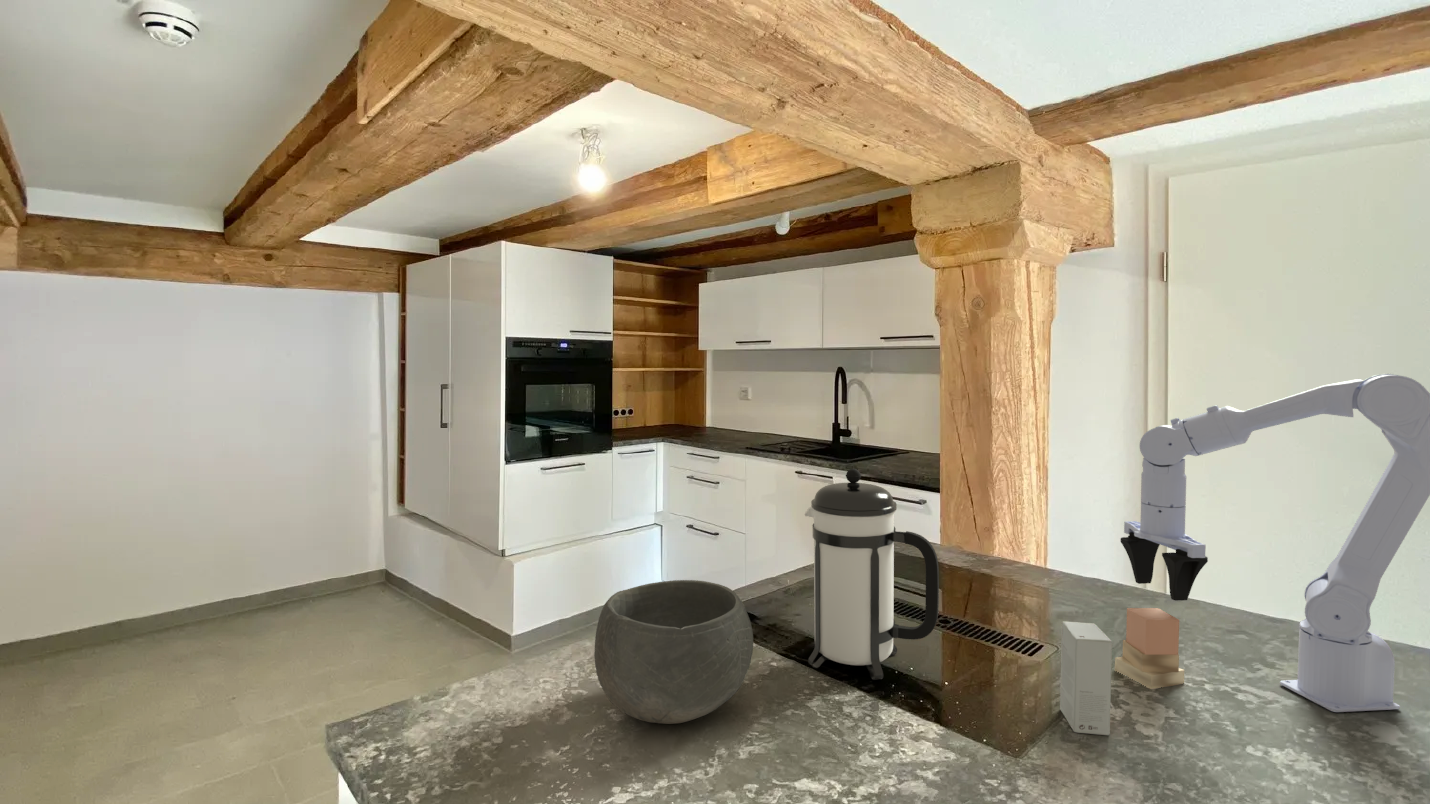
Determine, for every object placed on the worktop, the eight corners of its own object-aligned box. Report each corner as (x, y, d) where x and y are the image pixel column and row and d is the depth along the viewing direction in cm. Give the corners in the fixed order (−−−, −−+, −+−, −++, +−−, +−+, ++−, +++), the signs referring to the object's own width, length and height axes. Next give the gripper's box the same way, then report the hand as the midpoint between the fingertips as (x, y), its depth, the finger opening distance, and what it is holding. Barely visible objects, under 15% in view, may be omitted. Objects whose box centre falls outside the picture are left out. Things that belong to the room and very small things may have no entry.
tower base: (1146, 668, 101) (1147, 652, 101) (1183, 687, 95) (1184, 670, 95) (1114, 674, 100) (1115, 657, 100) (1150, 693, 94) (1151, 675, 94)
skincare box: (1111, 737, 82) (1113, 641, 81) (1073, 733, 83) (1075, 639, 82) (1093, 711, 88) (1095, 622, 87) (1058, 708, 89) (1060, 620, 88)
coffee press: (831, 692, 94) (830, 480, 92) (791, 646, 110) (790, 464, 108) (941, 677, 98) (942, 474, 97) (888, 634, 114) (888, 459, 112)
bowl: (731, 665, 103) (729, 569, 102) (775, 739, 82) (774, 620, 82) (591, 683, 98) (589, 582, 97) (602, 766, 77) (599, 639, 77)
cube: (1157, 641, 99) (1158, 608, 99) (1178, 654, 95) (1179, 620, 94) (1126, 641, 99) (1126, 608, 99) (1145, 654, 95) (1146, 619, 94)
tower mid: (1157, 656, 100) (1157, 640, 100) (1178, 672, 95) (1179, 655, 95) (1122, 656, 100) (1122, 640, 100) (1142, 671, 95) (1142, 654, 95)
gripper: (1107, 495, 110) (1105, 577, 110) (1173, 515, 95) (1170, 608, 96) (1148, 494, 110) (1146, 575, 111) (1220, 513, 96) (1217, 607, 96)
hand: (1160, 591), depth 103 cm, fingers open, 7 cm apart
